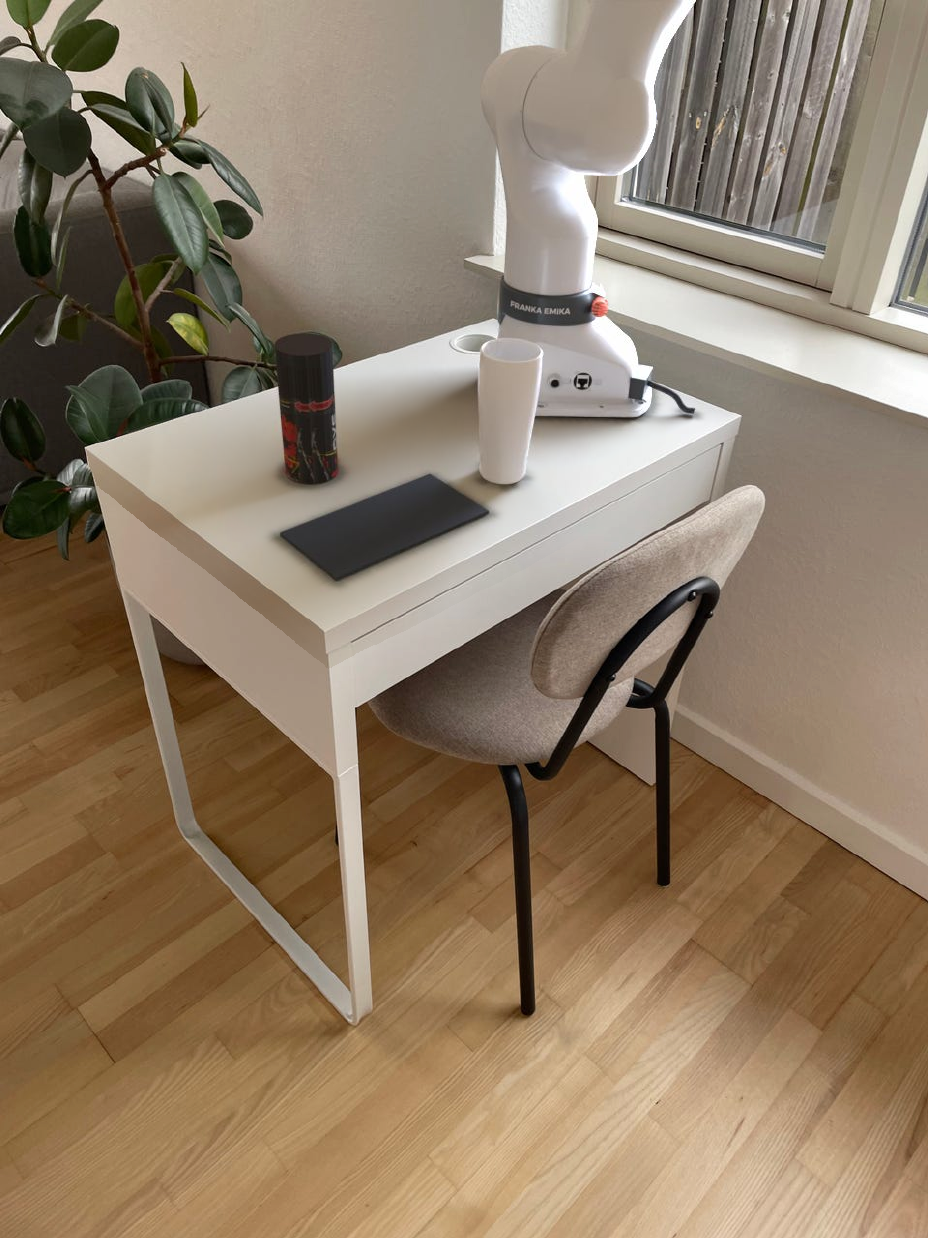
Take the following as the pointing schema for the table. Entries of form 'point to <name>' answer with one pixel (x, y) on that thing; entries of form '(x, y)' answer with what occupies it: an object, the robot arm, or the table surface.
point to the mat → (382, 525)
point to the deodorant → (307, 407)
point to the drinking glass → (507, 406)
